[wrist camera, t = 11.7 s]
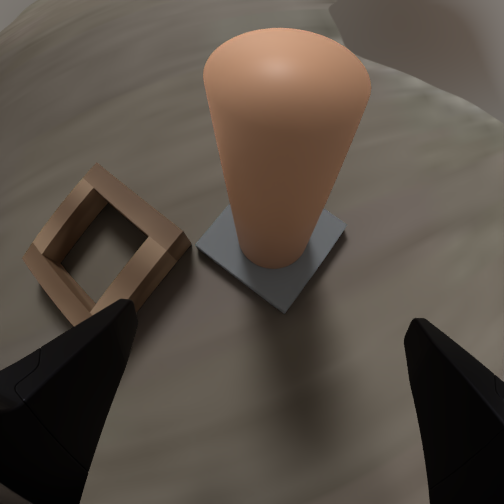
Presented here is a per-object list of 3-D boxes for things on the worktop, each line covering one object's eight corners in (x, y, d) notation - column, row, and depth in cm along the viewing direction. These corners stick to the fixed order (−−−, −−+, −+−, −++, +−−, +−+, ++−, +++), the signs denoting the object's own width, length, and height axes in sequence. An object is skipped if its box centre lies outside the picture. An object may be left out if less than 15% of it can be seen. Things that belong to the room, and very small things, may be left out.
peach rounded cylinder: (254, 280, 19) (241, 156, 6) (227, 218, 20) (184, 50, 7) (319, 251, 19) (402, 107, 6) (289, 193, 20) (316, 20, 8)
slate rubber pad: (284, 314, 19) (285, 312, 18) (197, 248, 20) (194, 244, 19) (344, 229, 20) (347, 224, 19) (261, 173, 22) (261, 167, 21)
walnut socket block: (110, 347, 18) (92, 347, 16) (41, 266, 20) (22, 258, 18) (191, 243, 20) (183, 230, 18) (109, 178, 22) (96, 162, 19)
